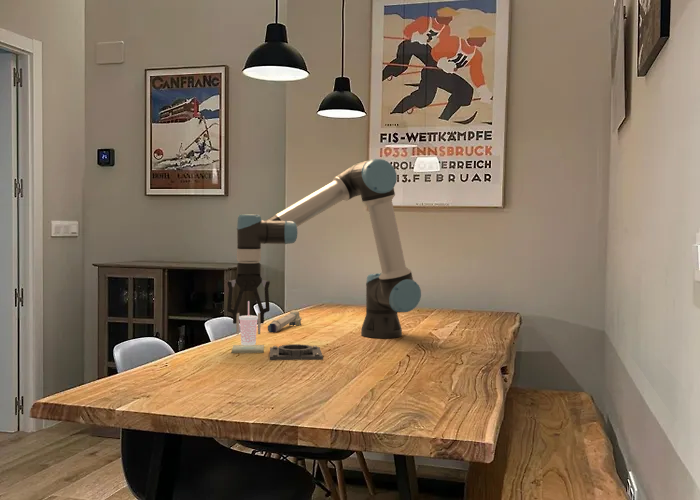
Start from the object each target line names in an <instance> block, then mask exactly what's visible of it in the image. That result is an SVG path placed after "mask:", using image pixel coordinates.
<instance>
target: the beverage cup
mask: <svg viewBox="0 0 700 500" xmlns="http://www.w3.org/2000/svg"><path fill="white" fill-rule="evenodd" d="M239 332H240V345H257V344H256V343H257V332H258V315H252V314H250V300H248V301H247V315H246V314H245V315H239Z"/></svg>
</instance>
